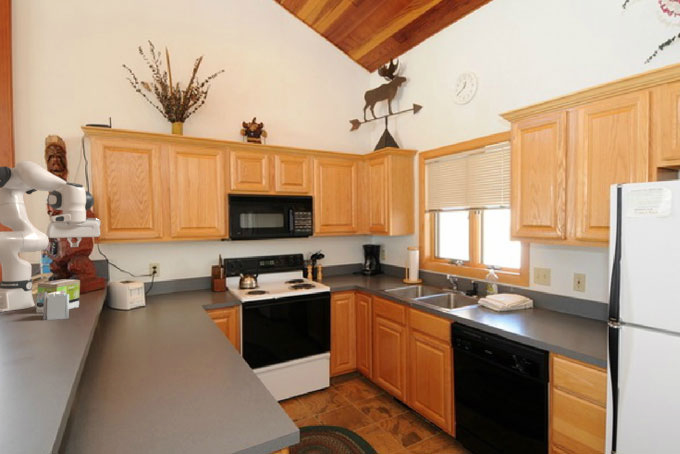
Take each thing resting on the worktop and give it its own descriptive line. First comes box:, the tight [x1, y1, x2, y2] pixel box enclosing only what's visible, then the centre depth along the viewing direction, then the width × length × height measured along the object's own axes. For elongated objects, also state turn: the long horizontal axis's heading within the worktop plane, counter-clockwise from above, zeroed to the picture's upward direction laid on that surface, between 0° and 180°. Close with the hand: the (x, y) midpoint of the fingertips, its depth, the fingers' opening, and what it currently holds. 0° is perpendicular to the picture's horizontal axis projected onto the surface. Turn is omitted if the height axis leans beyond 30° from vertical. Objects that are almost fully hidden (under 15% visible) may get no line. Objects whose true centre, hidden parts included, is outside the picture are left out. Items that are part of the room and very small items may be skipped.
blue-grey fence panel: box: [46, 293, 70, 321], centre depth 160 cm, size 8×1×11 cm, turn 111°
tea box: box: [36, 278, 81, 314], centre depth 177 cm, size 15×10×15 cm, turn 179°
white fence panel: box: [42, 291, 60, 321], centre depth 162 cm, size 1×9×13 cm, turn 6°
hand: (74, 246), depth 167 cm, fingers closed
